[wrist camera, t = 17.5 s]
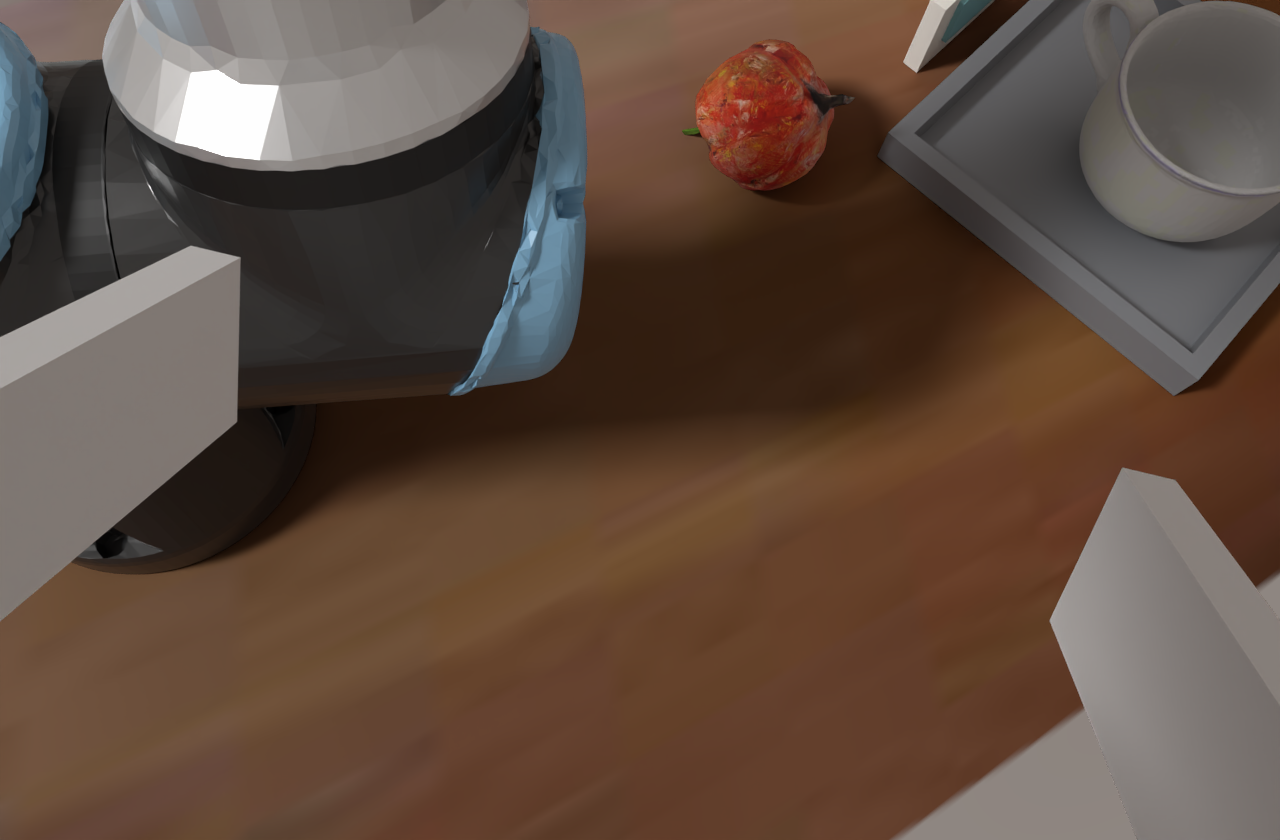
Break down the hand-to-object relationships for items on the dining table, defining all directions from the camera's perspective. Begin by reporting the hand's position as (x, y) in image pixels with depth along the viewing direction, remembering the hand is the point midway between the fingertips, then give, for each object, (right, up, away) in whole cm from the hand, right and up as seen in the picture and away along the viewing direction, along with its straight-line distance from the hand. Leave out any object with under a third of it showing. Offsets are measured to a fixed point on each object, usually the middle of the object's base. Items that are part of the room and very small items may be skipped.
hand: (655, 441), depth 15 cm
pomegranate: (+6, +15, +40) cm, 43 cm away
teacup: (+27, +15, +41) cm, 51 cm away
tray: (+27, +15, +41) cm, 51 cm away
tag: (+18, +23, +44) cm, 53 cm away
